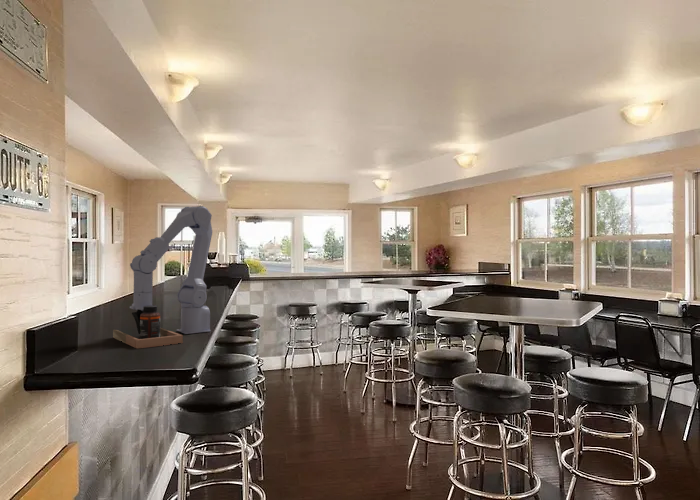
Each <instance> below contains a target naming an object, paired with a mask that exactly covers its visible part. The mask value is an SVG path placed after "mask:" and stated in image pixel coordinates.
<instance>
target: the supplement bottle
mask: <svg viewBox="0 0 700 500" xmlns="http://www.w3.org/2000/svg"><path fill="white" fill-rule="evenodd" d="M143 310H144V311H143V313H141V315H140V334H139V339H147V338H156V337H161V336H160V328H161V314H160V312H158V306H157V305H153V304H152V305H149V306H144V309H143Z"/></svg>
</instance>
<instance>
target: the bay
mask: <svg viewBox="0 0 700 500" xmlns="http://www.w3.org/2000/svg"><path fill="white" fill-rule="evenodd" d="M112 337H113V338H114V339H115V340H117V341H119V342H121V341H122V342H121V343H124V344H126V345H129V346H131V347H133V348H134V349H138V350H139V349H145V348H153V347H162V346H163V345H164V346H171V345H170V344H172V345H179V344H178V343H181V344H183V343H184V340H183V339H184V335H183V334H182V333H181V334H180V333H179V332H175V331H172V330H168V329H165V328H163V327H160V337H156V338H147V339H140V338H137V337H134V336H132V335H129V334H128V333H125V332H123V331H120V330H118V329H113V330H112ZM164 346H163V347H164Z"/></svg>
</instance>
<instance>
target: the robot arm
mask: <svg viewBox="0 0 700 500" xmlns="http://www.w3.org/2000/svg"><path fill="white" fill-rule="evenodd" d="M212 217H213V216H212V213H211V212H210V210H209V209H208V208H207V207H206V206H204V205H200V206H185V207H183V208H182V209H181V211H179V212H177V214H176V217H175V218H174V219H173V221H172V222H171V223H170V224H169V225H168V227H167V228H166V229H165V231H164V232H163V234H161V236H158V237H154V238H151V239H150V240H149V244H148V245H147V246H146V247H145V248H144V249H142V250H141V251H140V254H139V255H136V256H134V257H133V258H132V260H131V263H129V266H130V269H131V270H132V272H133V301H132V302H133V303H131V305H129V309H131V310H136V311H134V312H131V315H132V317H133V318H134V321H135V324H136V329H137V332H138V333H137V334H138V335H140V315H141V313H143V311H144V310H143V309H144V306H149V305H153V283H154V282H153V281H154V280H153V279H154V278H153V277H154V273H153V272H154V271H155V270H157V267H158V262H159V261H161V259H162V257H163V256H165V254H166V253H167V252H168V250H169V249H170V243H171V242H172V241H173V240H174V239H175V238H176V237H177V236H178V235H179V234H180V233H181V232H182V231H183V230H184V229H185V228H187V227H188V228H189V229H191V230H192V232H193V233H194V234H195V237H194V242H193V247H192V253H191V256H190V257H191V258H190V262H189V266H188V267H189V268H188V272H187V276H186V278H185V280H184V281H183V282H182V283H181V287H180V288H179V290H178V292H177V295H176V296H177V301H178V302H179V303H180V308H181V309H180V329H179V328H178V329H175V331H176V332H177V333H181V334H184V335H188V334H199V333H207V332H211V331H212V330H211V311H210V308H209V306H207V305H205V304H206V301H208V299H207V298H208V294H207V287H208V286H207V284H206V283H205V281H204V278H205V277H204V276H205V271H206V267H207V262H208V256H209V252H210V247H211V242H212V236H213V227H212V222H211V220H212Z"/></svg>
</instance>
